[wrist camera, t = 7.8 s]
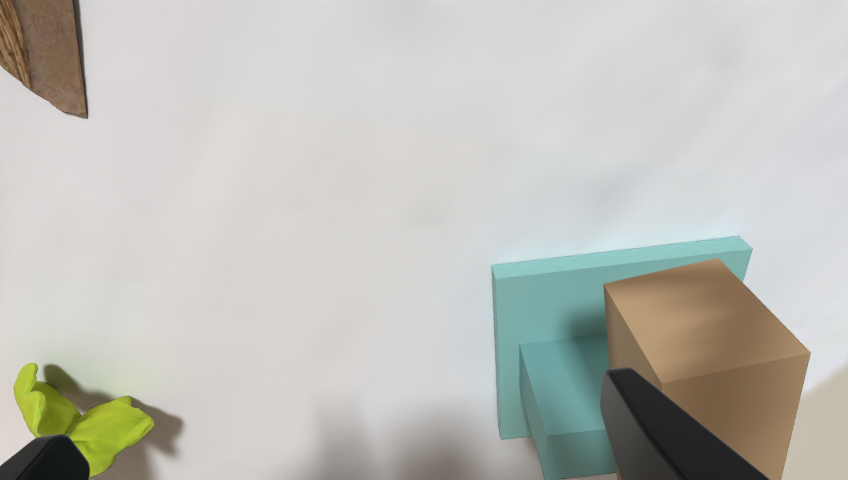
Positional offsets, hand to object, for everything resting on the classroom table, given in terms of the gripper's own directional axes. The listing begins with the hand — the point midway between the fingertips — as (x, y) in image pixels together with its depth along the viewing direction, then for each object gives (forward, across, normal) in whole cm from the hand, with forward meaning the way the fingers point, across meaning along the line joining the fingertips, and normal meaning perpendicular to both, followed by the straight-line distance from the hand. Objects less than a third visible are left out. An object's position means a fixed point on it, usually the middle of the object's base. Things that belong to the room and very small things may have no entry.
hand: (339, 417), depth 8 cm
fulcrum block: (+12, -10, +12) cm, 20 cm away
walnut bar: (+6, -10, +12) cm, 17 cm away
